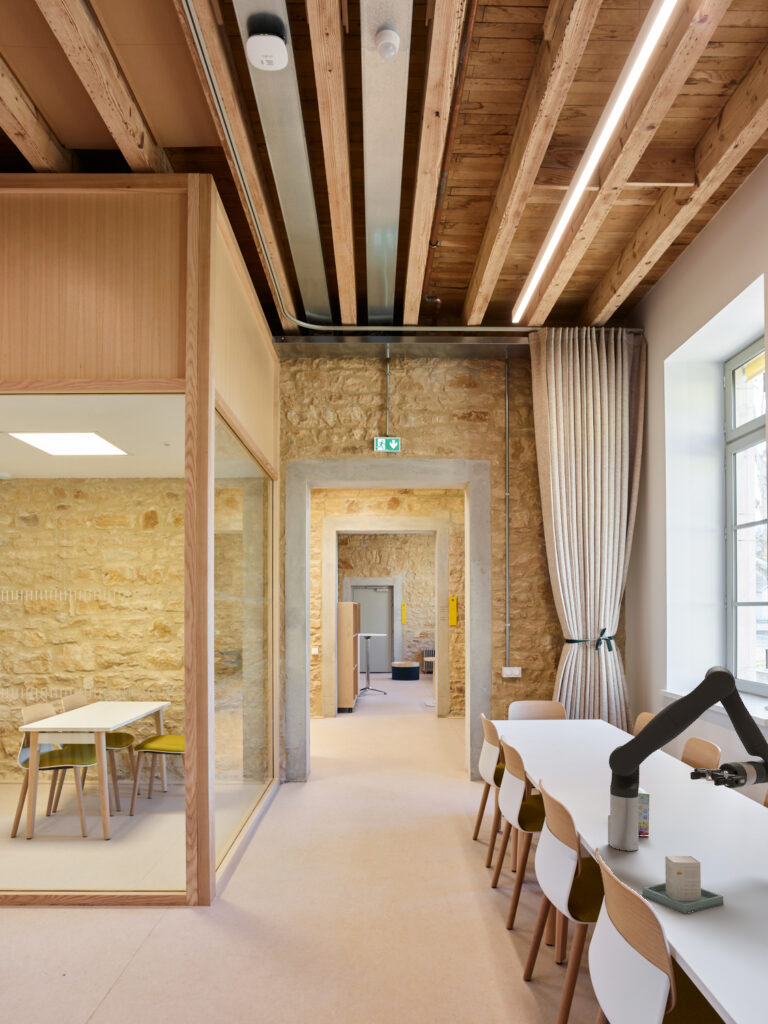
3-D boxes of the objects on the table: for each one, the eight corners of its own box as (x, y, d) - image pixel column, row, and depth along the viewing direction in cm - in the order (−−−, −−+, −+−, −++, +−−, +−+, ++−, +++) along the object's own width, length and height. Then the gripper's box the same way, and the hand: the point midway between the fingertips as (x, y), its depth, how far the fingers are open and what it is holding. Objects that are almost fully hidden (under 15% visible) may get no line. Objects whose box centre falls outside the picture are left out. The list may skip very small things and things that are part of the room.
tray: (642, 895, 227) (642, 887, 227) (680, 887, 235) (679, 879, 235) (685, 913, 214) (685, 905, 214) (723, 904, 222) (723, 896, 222)
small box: (692, 894, 227) (692, 855, 229) (701, 901, 222) (701, 862, 223) (664, 893, 227) (664, 855, 228) (673, 901, 221) (673, 861, 222)
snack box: (650, 837, 284) (650, 793, 286) (634, 836, 284) (634, 793, 286) (632, 820, 305) (632, 780, 307) (618, 820, 305) (618, 779, 307)
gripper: (717, 757, 257) (683, 761, 249) (757, 766, 245) (723, 771, 237) (717, 781, 256) (683, 786, 248) (758, 792, 244) (723, 797, 236)
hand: (703, 778), depth 243 cm, fingers open, 8 cm apart
